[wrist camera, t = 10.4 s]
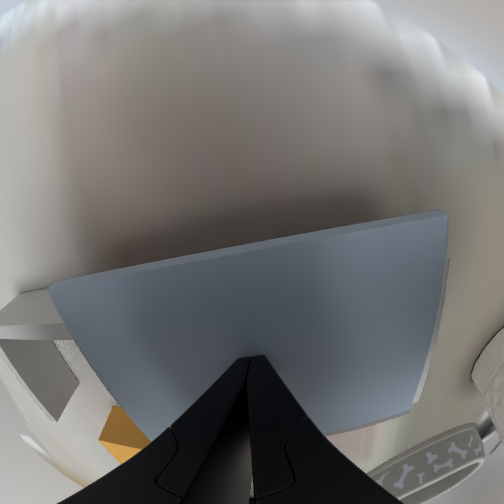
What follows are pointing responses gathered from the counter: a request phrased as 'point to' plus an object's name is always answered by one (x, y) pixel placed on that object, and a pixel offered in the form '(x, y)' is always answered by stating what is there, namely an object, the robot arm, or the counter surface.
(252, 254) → the panel
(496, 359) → the white cup
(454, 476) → the dog bowl
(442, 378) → the counter surface
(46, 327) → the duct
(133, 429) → the mustard yellow box
